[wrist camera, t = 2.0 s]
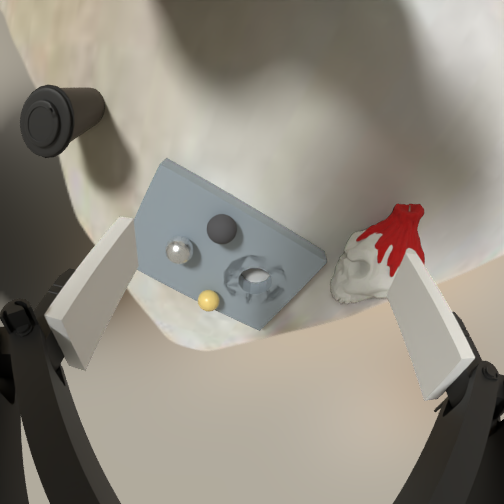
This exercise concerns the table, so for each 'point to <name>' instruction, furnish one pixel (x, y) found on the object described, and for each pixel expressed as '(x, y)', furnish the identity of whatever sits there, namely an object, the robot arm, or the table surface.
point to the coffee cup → (58, 117)
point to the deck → (221, 247)
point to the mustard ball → (208, 300)
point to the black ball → (221, 229)
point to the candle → (377, 256)
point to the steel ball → (179, 250)
